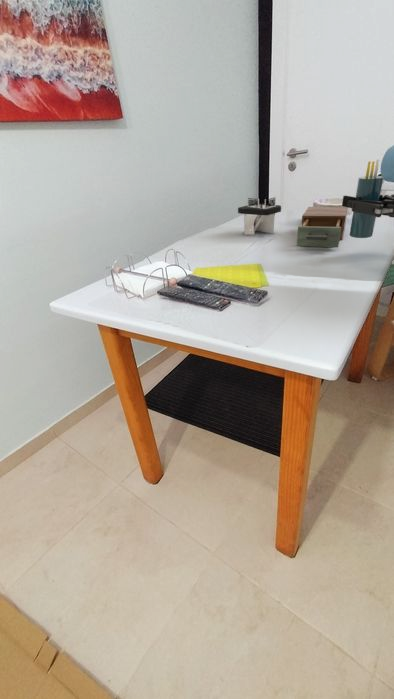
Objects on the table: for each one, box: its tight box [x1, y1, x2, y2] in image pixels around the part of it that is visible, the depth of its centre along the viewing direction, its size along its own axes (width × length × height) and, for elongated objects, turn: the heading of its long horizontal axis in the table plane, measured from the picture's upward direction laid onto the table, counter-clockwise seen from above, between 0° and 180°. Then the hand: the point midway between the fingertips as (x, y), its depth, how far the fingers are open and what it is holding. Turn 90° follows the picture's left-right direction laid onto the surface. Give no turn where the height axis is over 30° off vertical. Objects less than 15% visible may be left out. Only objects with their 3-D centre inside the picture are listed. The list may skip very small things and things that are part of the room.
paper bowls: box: [312, 197, 353, 217], centre depth 135 cm, size 15×15×8 cm
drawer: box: [296, 218, 341, 248], centre depth 109 cm, size 19×13×6 cm
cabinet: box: [300, 206, 348, 241], centre depth 120 cm, size 16×14×8 cm
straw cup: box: [349, 159, 384, 239], centre depth 92 cm, size 6×6×19 cm
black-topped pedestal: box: [237, 196, 282, 236], centre depth 126 cm, size 28×26×13 cm
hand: (353, 199), depth 96 cm, fingers closed on straw cup, 6 cm apart
